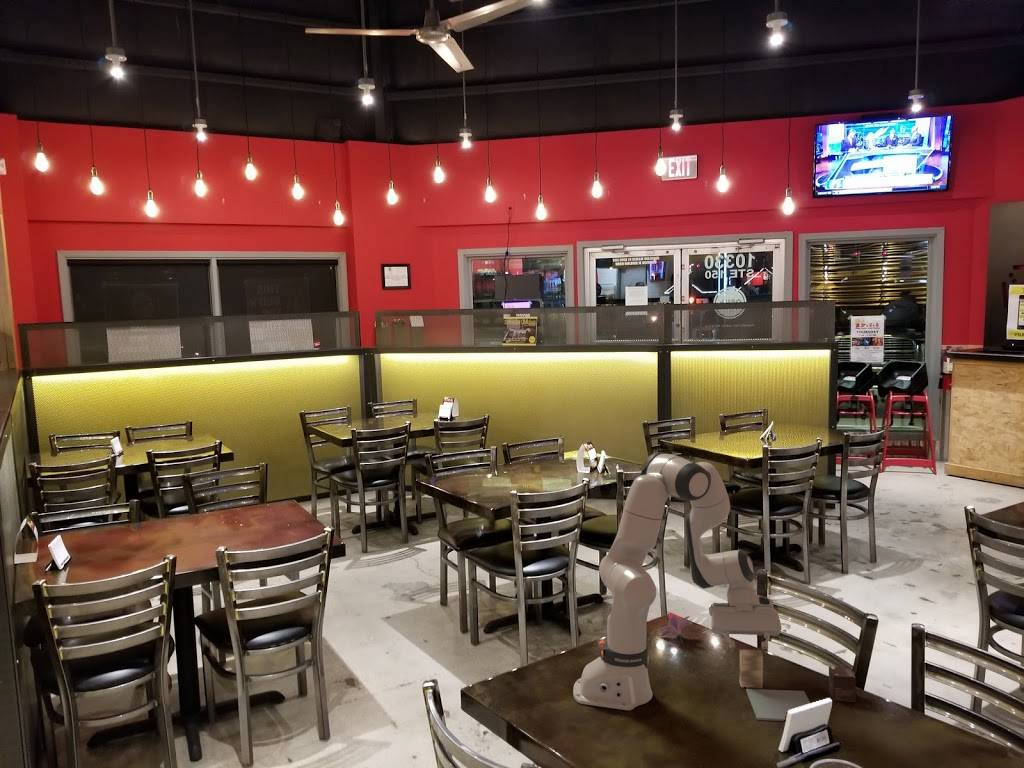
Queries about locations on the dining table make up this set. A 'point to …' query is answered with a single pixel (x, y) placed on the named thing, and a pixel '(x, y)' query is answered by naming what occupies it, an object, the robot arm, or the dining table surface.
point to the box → (842, 684)
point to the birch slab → (751, 669)
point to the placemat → (775, 702)
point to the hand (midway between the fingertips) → (748, 648)
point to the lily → (675, 626)
